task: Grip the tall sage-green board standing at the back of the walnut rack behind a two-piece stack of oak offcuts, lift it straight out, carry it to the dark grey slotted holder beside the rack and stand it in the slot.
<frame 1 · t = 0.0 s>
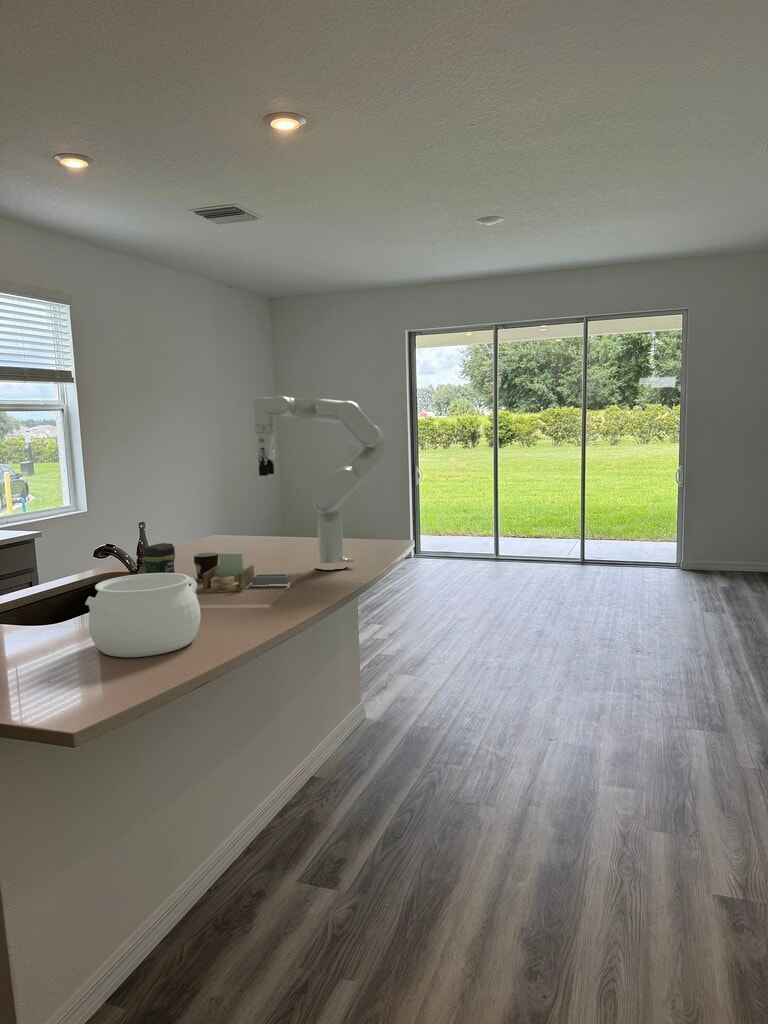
hand: (266, 474, 269), 37 cm above the table, tool pointing down, fingers open, 9 cm apart
coffee jar: (162, 602, 222), on the table
rack: (229, 589, 236), on the table
holder: (271, 588, 237), on the table
pot: (147, 645, 175), on the table
coffee mug: (207, 581, 252), on the table
offcut top: (223, 583, 233), point 3 cm above the table, touching offcut low
board: (232, 584, 240), point 1 cm above the table, touching rack
offcut low: (226, 589, 233), point 1 cm above the table, touching offcut top, rack
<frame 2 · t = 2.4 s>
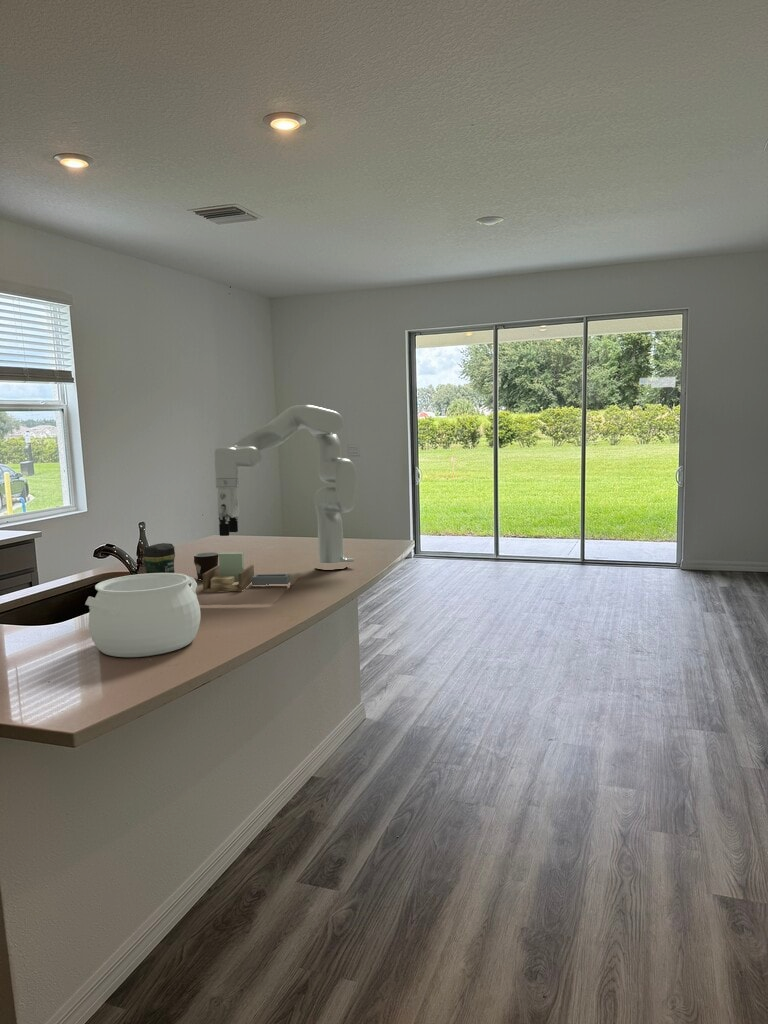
hand: (228, 533, 238), 19 cm above the table, tool pointing down, fingers open, 9 cm apart
nothing on the table moved.
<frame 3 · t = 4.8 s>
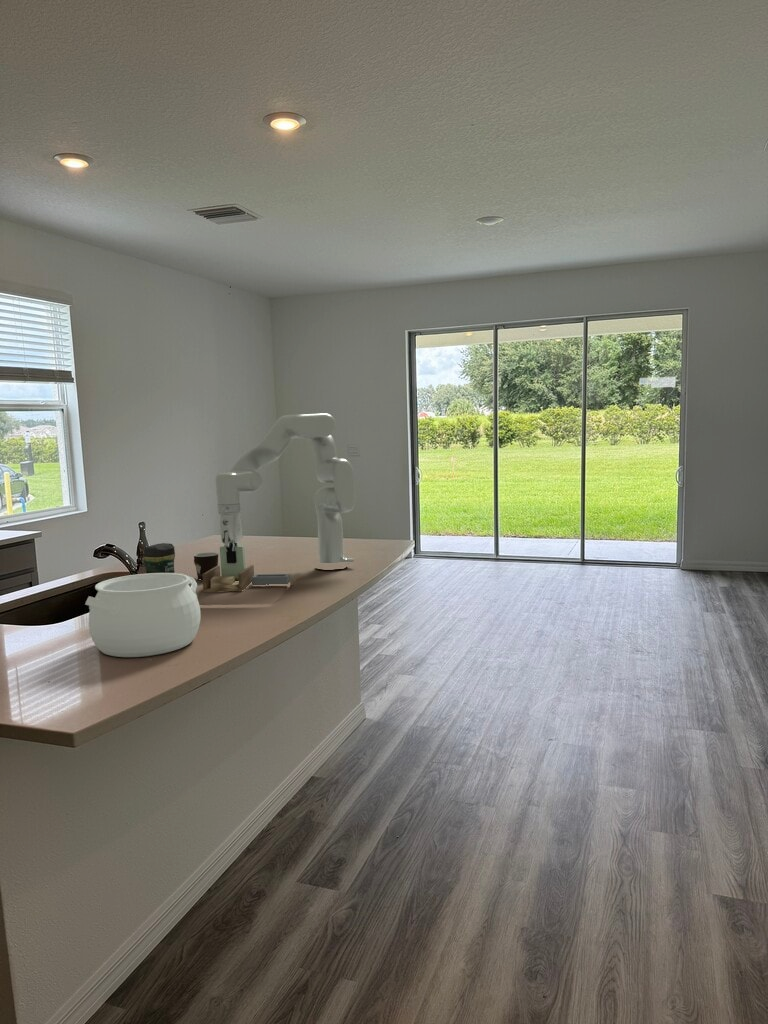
hand: (232, 561, 239), 9 cm above the table, tool pointing down, fingers closed on board, 2 cm apart
board: (234, 577, 240), point 3 cm above the table, touching gripper
everything else where it was.
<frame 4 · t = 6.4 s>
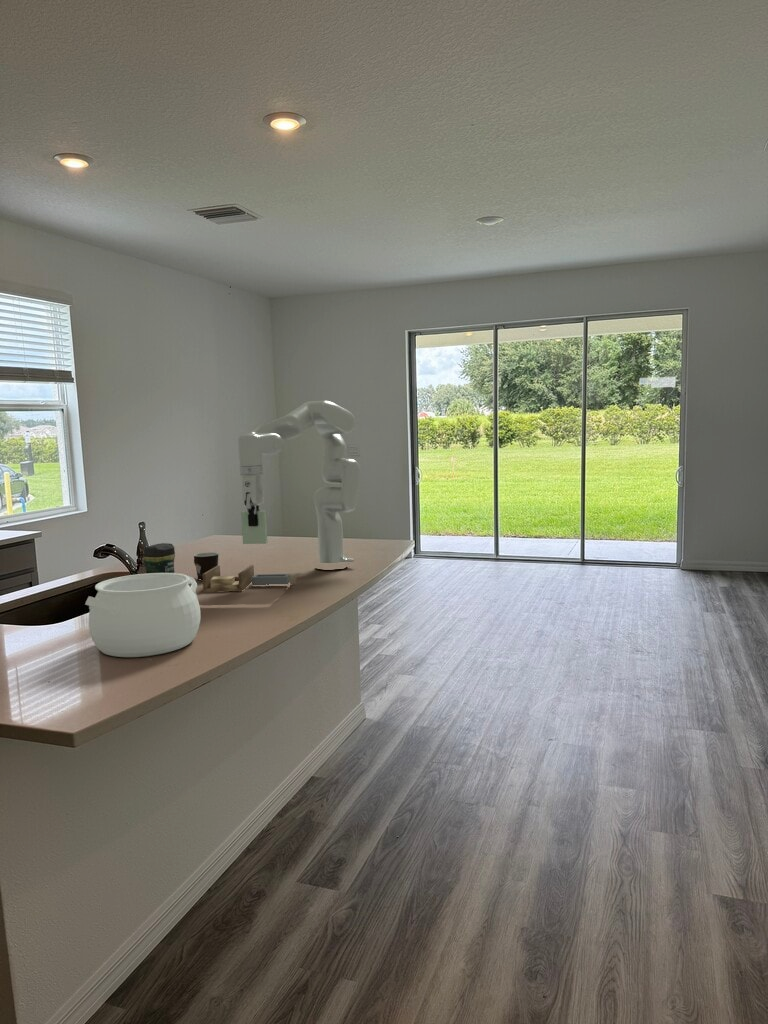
hand: (254, 525, 236), 22 cm above the table, tool pointing down, fingers closed on board
board: (255, 543, 237), point 15 cm above the table, touching gripper
everything else where it was.
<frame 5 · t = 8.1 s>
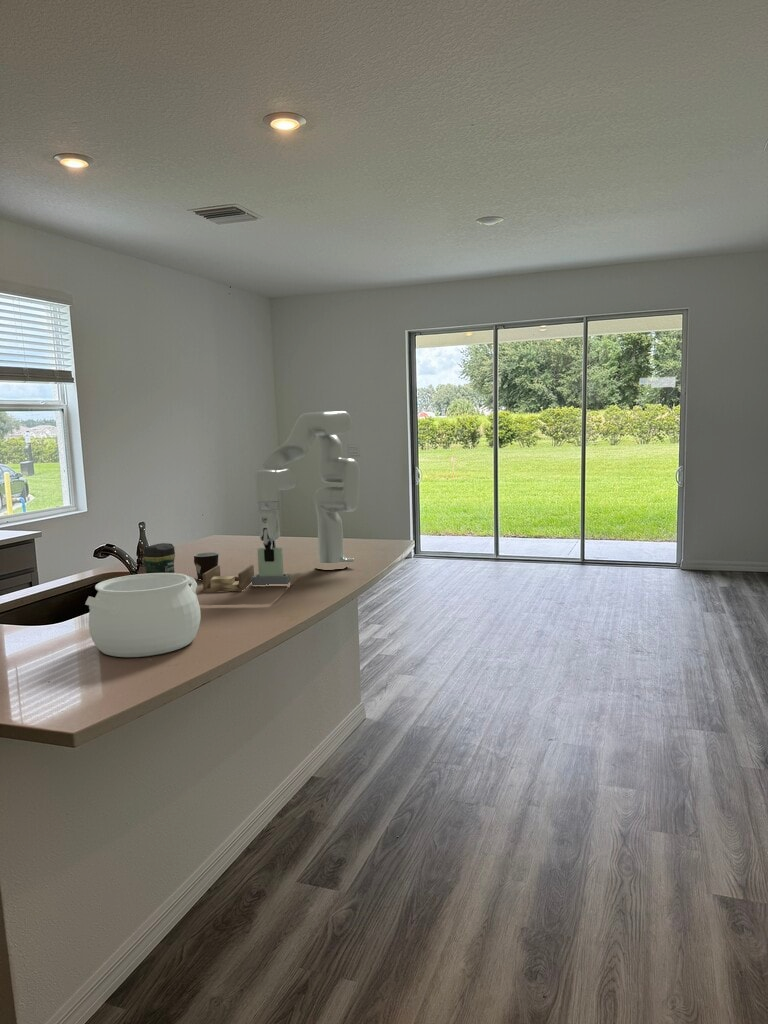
hand: (270, 560, 236), 10 cm above the table, tool pointing down, fingers closed on board, 2 cm apart
board: (271, 580, 237), point 3 cm above the table, touching gripper
everything else where it was.
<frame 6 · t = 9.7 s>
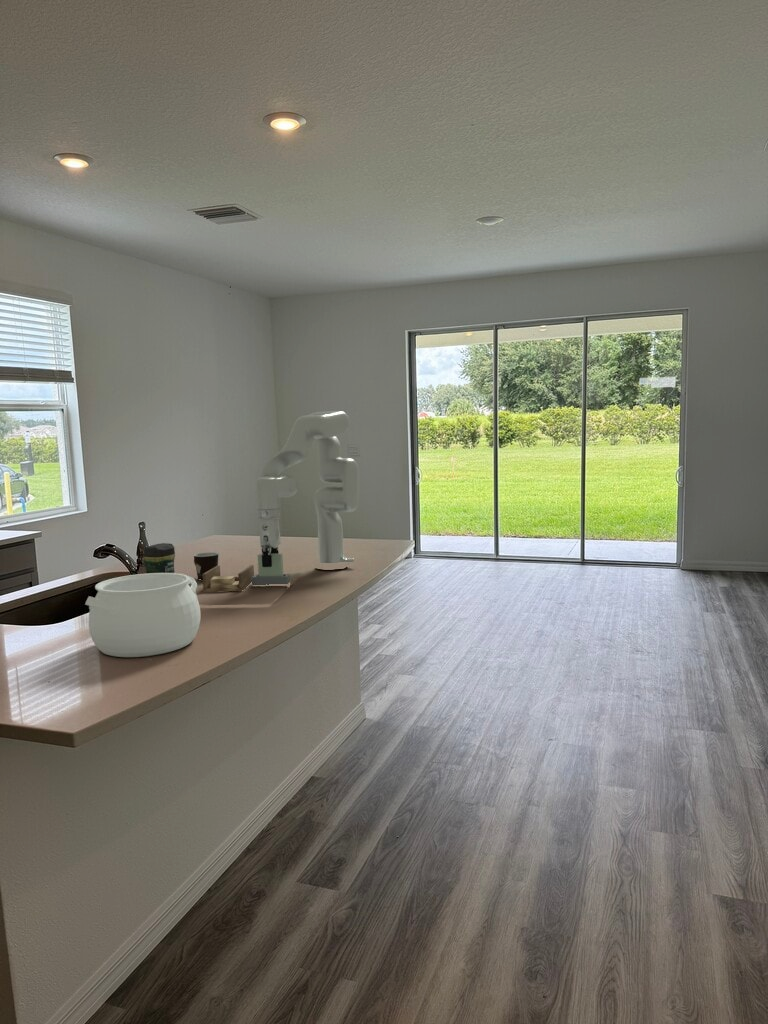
hand: (270, 564, 236), 8 cm above the table, tool pointing down, fingers open, 9 cm apart
board: (271, 586, 237), point 1 cm above the table, touching holder
everything else where it was.
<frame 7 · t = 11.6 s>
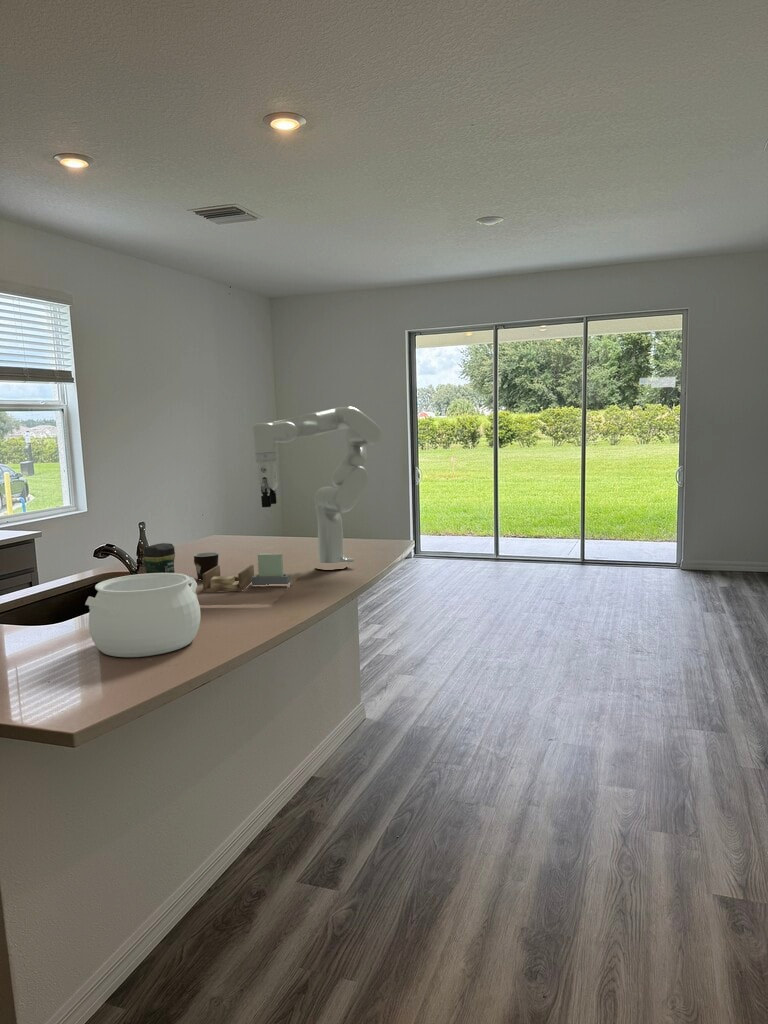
hand: (269, 505, 251), 27 cm above the table, tool pointing down, fingers open, 9 cm apart
nothing on the table moved.
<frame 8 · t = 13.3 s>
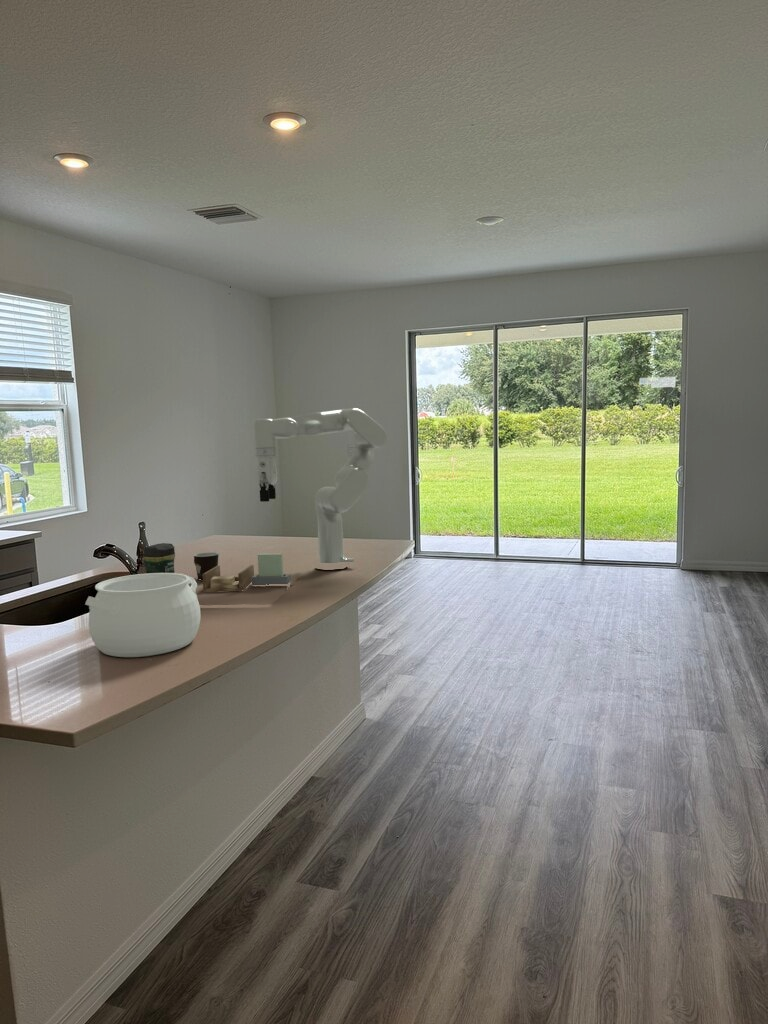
hand: (268, 500, 254), 28 cm above the table, tool pointing down, fingers open, 9 cm apart
nothing on the table moved.
at the end: board 0.2 cm off-centre on the holder, point 0.8 cm above the holder's base; board tilted 0°; the gripper is holding nothing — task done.
